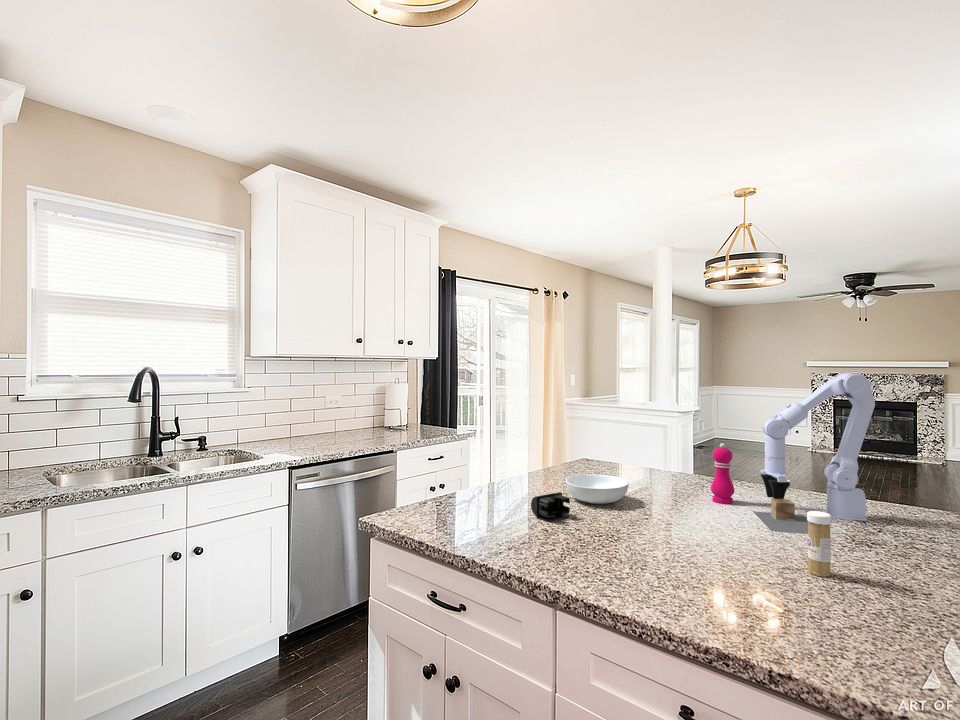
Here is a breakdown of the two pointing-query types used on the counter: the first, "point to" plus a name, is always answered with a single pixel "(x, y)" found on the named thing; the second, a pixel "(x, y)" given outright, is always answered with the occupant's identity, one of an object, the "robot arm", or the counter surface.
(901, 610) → the counter surface
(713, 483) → the pepper mill
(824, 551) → the sprinkles bottle
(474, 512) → the counter surface
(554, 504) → the end cap
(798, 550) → the counter surface
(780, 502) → the cube
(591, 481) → the serving bowl
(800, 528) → the mat
